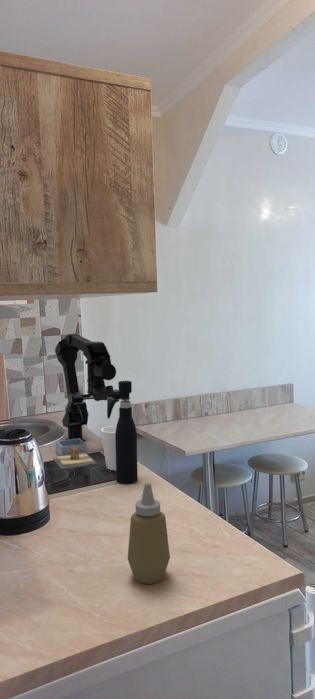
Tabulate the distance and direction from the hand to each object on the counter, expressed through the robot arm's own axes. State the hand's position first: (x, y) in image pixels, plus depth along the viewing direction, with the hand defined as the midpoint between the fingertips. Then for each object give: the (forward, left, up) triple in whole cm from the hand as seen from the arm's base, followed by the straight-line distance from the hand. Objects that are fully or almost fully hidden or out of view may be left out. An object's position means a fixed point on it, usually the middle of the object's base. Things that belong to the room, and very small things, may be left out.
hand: (96, 419), depth 174 cm
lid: (+9, -11, -11) cm, 18 cm away
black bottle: (+34, -1, -12) cm, 36 cm away
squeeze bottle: (+85, -16, -12) cm, 87 cm away
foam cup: (+22, 0, -12) cm, 25 cm away
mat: (+9, -11, -12) cm, 18 cm away
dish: (-2, -9, -12) cm, 15 cm away
